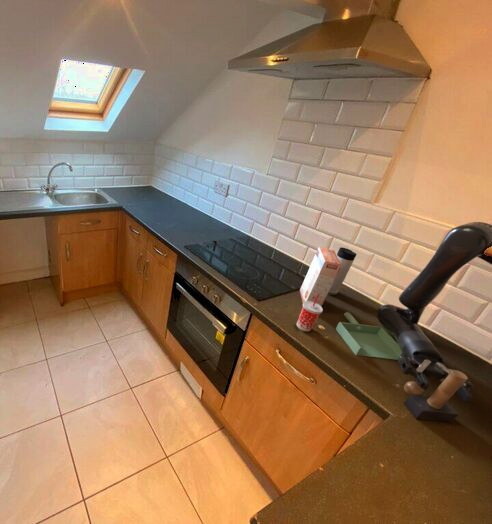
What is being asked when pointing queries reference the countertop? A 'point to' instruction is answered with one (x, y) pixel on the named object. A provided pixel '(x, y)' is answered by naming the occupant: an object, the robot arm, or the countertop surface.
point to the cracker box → (320, 276)
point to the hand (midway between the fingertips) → (446, 393)
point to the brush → (437, 400)
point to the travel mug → (342, 268)
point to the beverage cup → (309, 315)
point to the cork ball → (413, 389)
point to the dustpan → (368, 339)
